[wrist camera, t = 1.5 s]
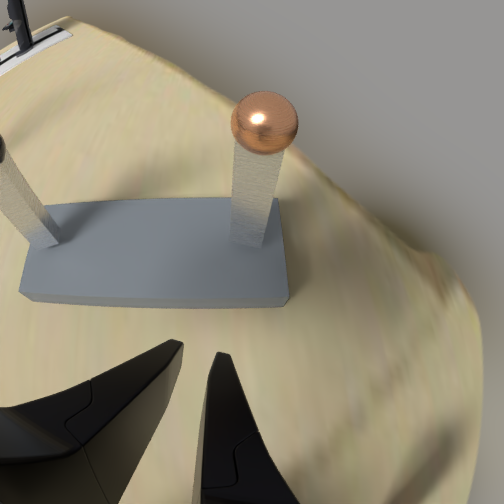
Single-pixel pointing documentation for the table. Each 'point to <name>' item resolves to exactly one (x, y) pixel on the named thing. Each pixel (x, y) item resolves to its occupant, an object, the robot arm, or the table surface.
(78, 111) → the table surface
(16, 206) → the beige grey bar
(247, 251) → the switch board
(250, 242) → the copper knob rod
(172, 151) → the table surface
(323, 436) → the table surface
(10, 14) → the slab on white base
